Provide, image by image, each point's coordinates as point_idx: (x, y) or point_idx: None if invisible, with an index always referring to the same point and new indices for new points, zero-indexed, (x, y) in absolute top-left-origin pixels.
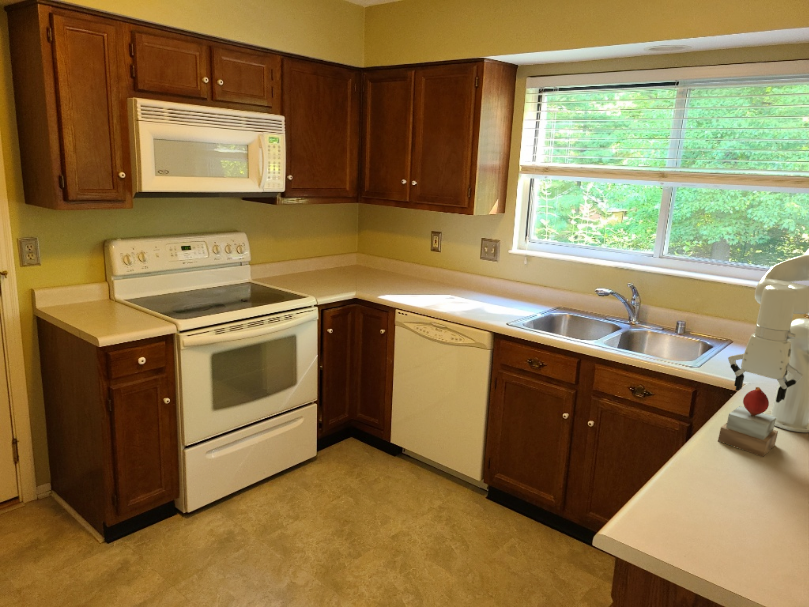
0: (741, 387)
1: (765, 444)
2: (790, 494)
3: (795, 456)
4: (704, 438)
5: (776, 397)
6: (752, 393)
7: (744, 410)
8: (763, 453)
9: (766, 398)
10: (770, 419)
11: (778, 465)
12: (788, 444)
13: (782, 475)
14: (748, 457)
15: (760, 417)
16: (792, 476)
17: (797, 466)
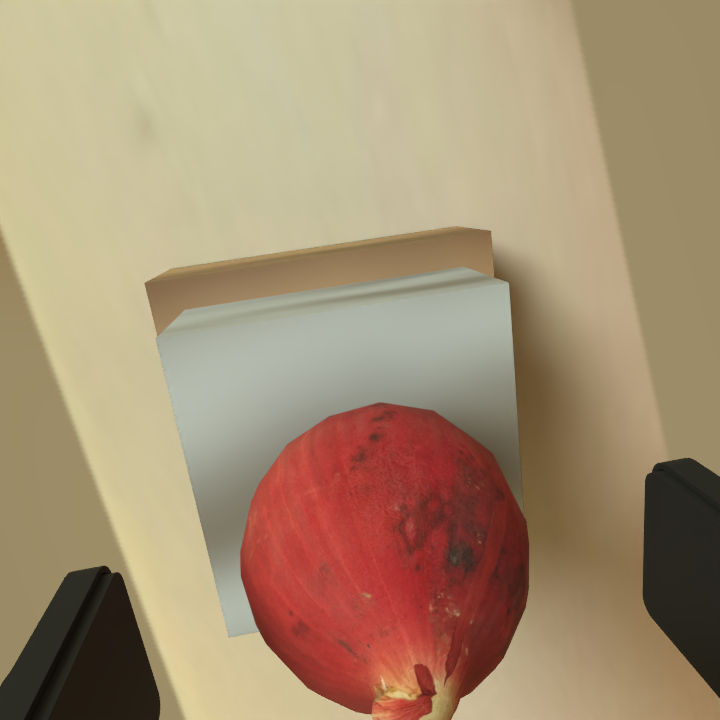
0: (118, 601)
1: None
2: (678, 713)
3: (592, 283)
4: (166, 563)
5: (682, 652)
6: (366, 712)
7: (255, 421)
8: None
9: (523, 601)
10: (498, 406)
11: (564, 499)
12: (508, 113)
13: (610, 586)
14: None
15: None
16: None
17: (634, 414)
